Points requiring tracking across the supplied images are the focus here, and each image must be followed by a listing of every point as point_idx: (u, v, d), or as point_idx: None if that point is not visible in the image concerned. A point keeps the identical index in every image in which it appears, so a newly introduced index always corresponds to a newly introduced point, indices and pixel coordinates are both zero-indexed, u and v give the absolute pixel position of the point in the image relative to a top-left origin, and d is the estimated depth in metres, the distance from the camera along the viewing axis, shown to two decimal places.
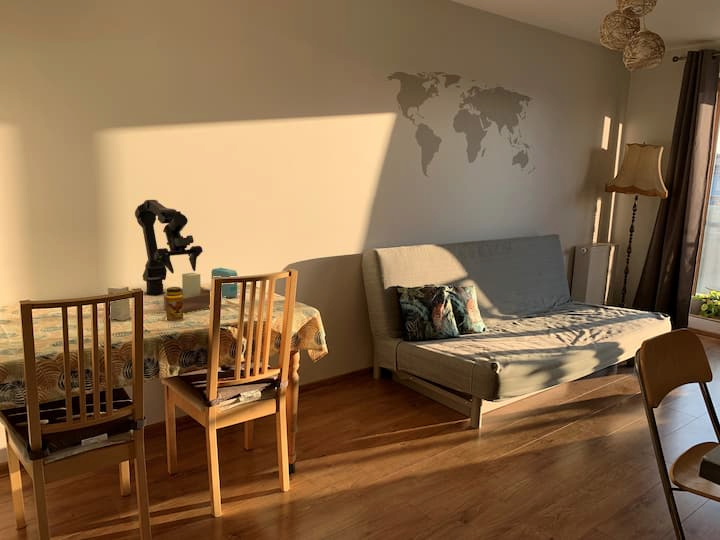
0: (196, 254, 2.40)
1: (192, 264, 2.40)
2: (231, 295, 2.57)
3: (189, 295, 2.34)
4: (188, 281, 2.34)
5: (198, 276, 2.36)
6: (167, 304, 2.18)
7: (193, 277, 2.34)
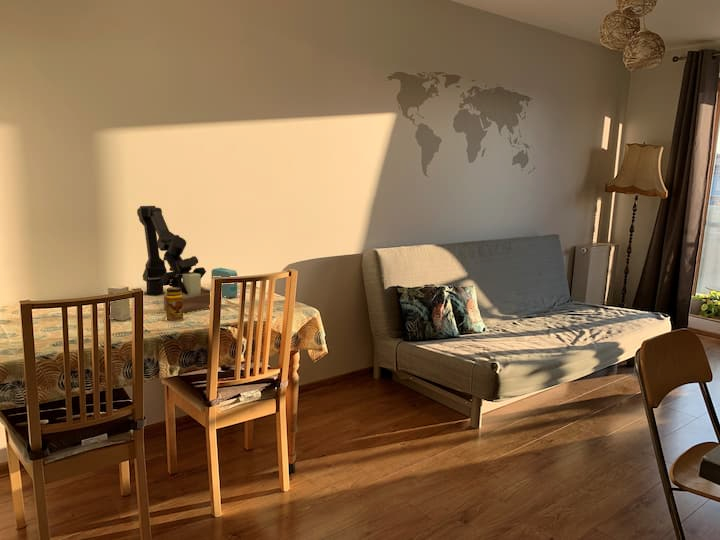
0: None
1: None
2: (231, 295, 2.57)
3: (189, 295, 2.34)
4: (188, 281, 2.34)
5: (198, 276, 2.36)
6: (167, 304, 2.18)
7: (193, 277, 2.34)
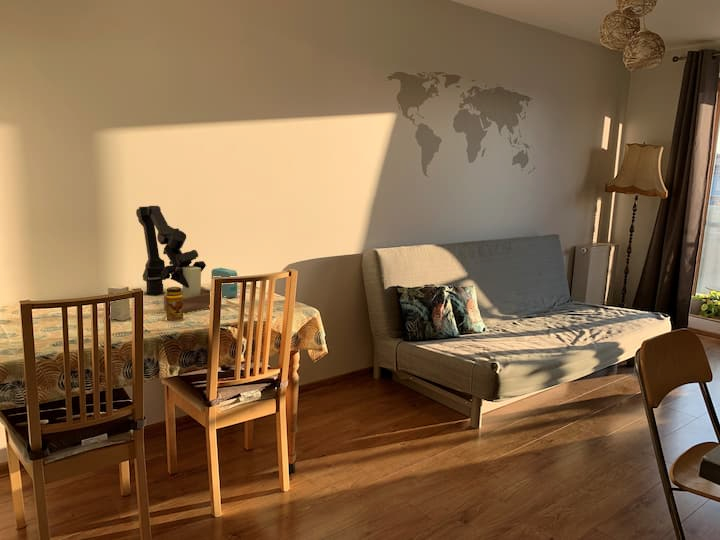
0: None
1: None
2: (231, 295, 2.57)
3: (189, 288, 2.34)
4: (188, 275, 2.33)
5: (199, 270, 2.35)
6: (167, 304, 2.18)
7: (194, 271, 2.33)
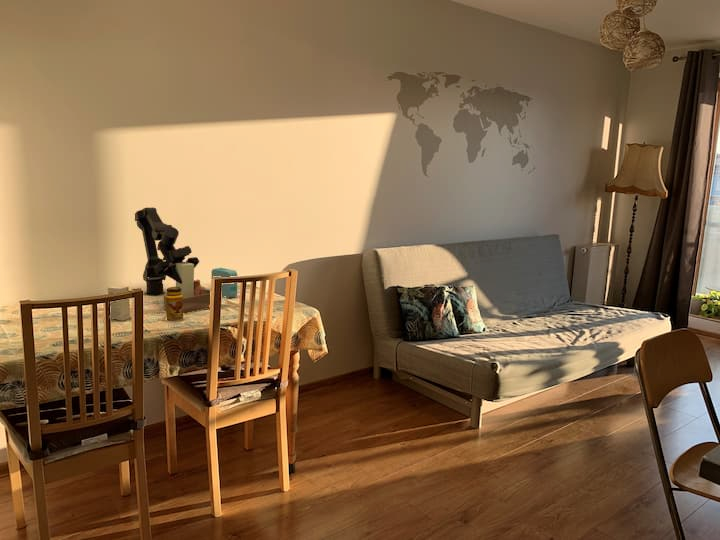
0: None
1: None
2: (231, 295, 2.57)
3: (182, 284, 2.36)
4: (181, 271, 2.36)
5: (192, 266, 2.38)
6: (167, 304, 2.18)
7: (187, 267, 2.36)
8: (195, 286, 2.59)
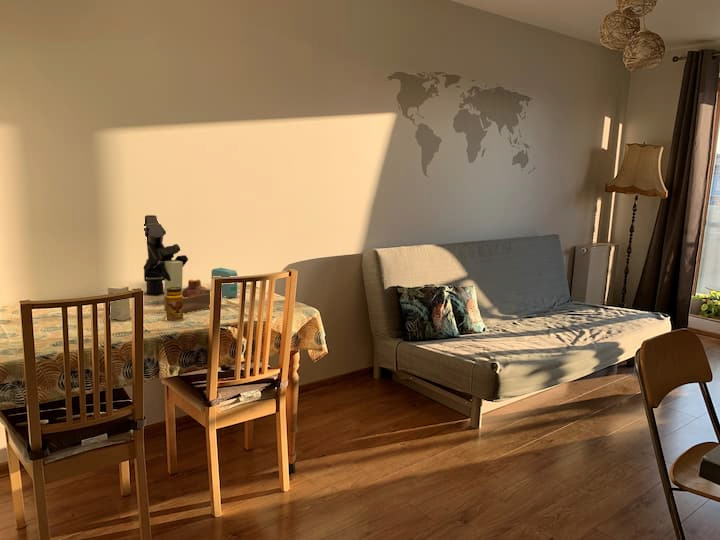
0: None
1: None
2: (231, 295, 2.57)
3: (171, 282, 2.40)
4: (170, 268, 2.40)
5: (180, 264, 2.42)
6: (167, 304, 2.18)
7: (175, 264, 2.40)
8: (196, 286, 2.59)
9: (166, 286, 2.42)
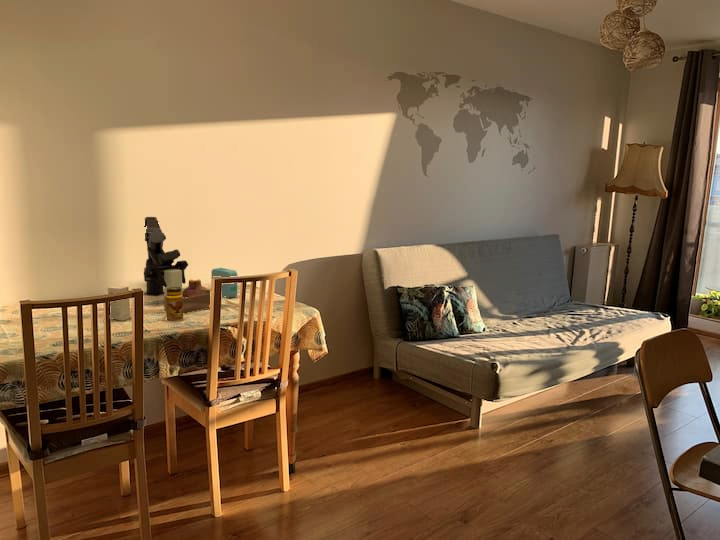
0: (183, 267, 2.48)
1: None
2: (231, 295, 2.57)
3: None
4: (169, 277, 2.40)
5: (179, 272, 2.43)
6: (167, 304, 2.18)
7: (174, 273, 2.41)
8: (196, 286, 2.59)
9: None
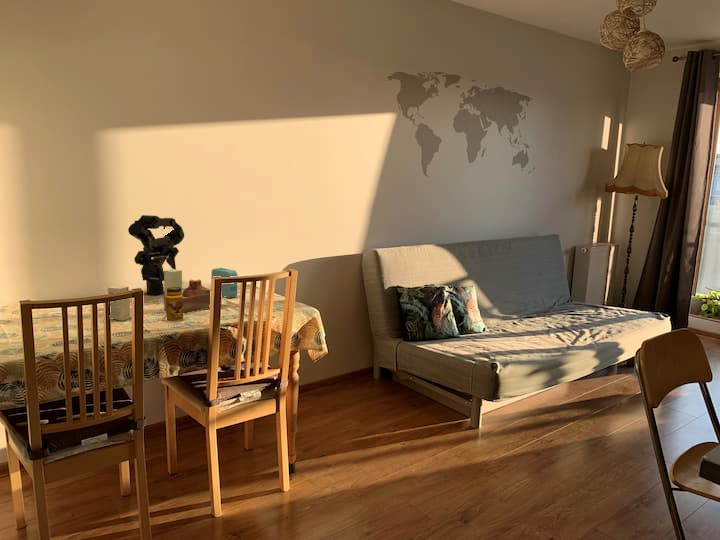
0: (174, 254, 2.51)
1: (171, 264, 2.51)
2: (231, 295, 2.57)
3: None
4: (169, 277, 2.40)
5: (179, 272, 2.43)
6: (167, 304, 2.18)
7: (174, 273, 2.41)
8: (196, 286, 2.59)
9: None
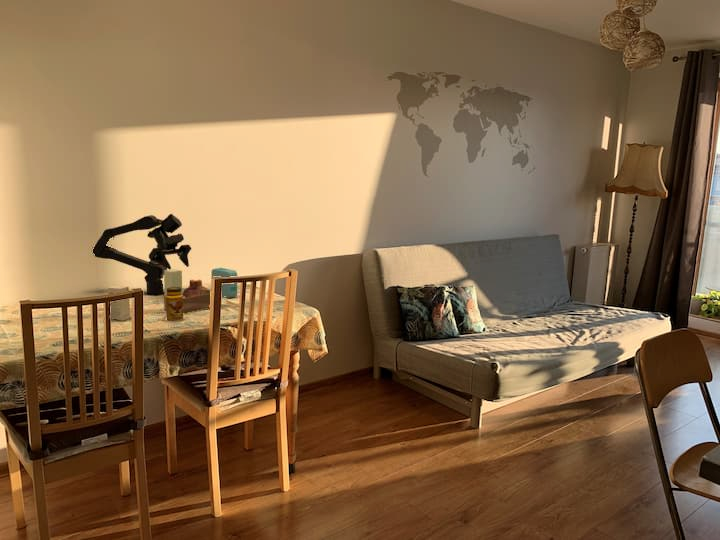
0: (187, 251, 2.57)
1: (184, 261, 2.56)
2: (231, 295, 2.57)
3: None
4: (169, 277, 2.40)
5: (179, 272, 2.43)
6: (167, 304, 2.18)
7: (174, 273, 2.41)
8: (197, 286, 2.59)
9: None
